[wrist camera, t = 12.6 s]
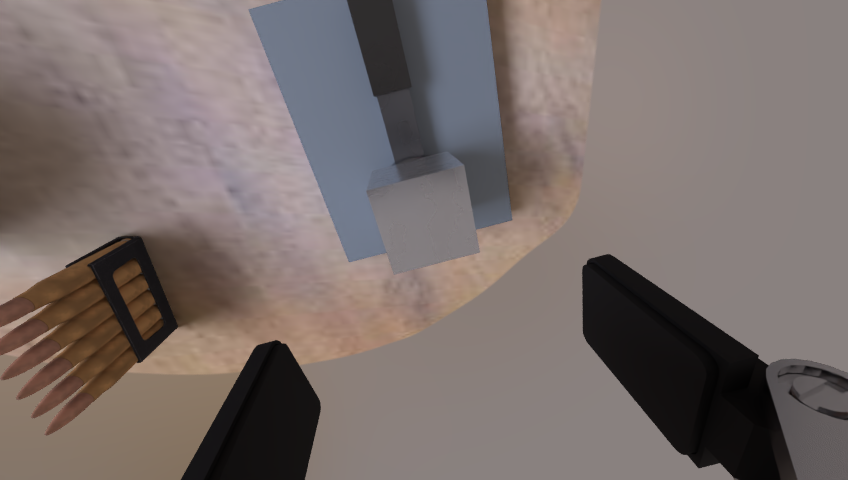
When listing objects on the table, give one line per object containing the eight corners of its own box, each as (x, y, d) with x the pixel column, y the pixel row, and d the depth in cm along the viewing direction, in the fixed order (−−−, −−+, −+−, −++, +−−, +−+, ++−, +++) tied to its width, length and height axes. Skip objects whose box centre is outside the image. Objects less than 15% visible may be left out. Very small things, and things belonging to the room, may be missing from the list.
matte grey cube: (372, 170, 23) (366, 190, 18) (447, 151, 23) (464, 165, 18) (393, 238, 26) (393, 274, 20) (461, 221, 25) (479, 252, 20)
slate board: (260, 17, 22) (248, 9, 20) (472, -40, 22) (480, -53, 20) (351, 252, 30) (349, 262, 28) (504, 213, 30) (512, 220, 28)
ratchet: (323, 9, 20) (300, -23, 15) (413, -16, 20) (420, -56, 15) (392, 232, 27) (392, 260, 22) (459, 215, 27) (474, 240, 22)
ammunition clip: (118, 236, 27) (-63, 323, 16) (140, 235, 27) (-26, 321, 17) (159, 328, 32) (37, 444, 21) (178, 327, 32) (67, 442, 21)
